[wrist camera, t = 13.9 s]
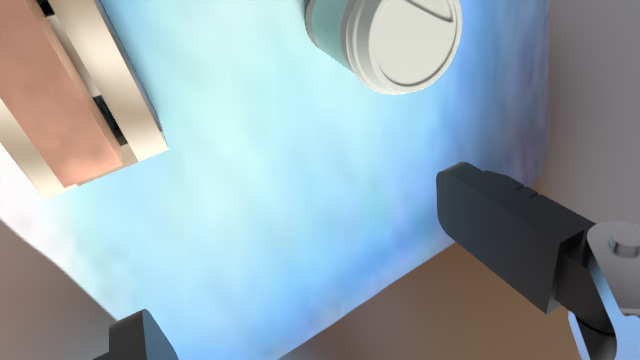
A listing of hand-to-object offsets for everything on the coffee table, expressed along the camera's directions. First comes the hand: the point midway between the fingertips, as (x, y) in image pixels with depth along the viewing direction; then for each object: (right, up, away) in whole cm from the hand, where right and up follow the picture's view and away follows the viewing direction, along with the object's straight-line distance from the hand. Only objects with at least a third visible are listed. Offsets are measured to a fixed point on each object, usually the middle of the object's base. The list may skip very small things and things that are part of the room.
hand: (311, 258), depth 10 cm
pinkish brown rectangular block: (-19, +11, +18) cm, 28 cm away
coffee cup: (+1, +16, +26) cm, 31 cm away
